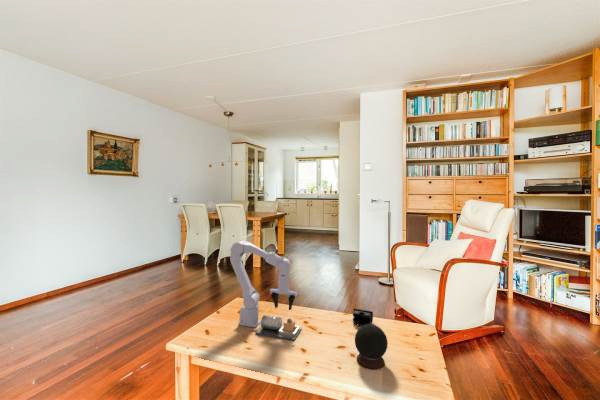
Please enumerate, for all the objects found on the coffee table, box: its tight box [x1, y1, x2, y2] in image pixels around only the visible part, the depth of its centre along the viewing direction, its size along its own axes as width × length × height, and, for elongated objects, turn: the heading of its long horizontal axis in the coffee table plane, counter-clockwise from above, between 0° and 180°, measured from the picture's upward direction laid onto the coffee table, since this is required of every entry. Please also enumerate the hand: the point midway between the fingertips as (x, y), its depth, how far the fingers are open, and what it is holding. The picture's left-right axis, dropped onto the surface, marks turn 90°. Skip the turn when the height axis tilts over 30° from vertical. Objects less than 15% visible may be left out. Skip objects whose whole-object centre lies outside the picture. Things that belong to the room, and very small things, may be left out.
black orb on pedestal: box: [354, 323, 389, 371], centre depth 119 cm, size 13×13×15 cm
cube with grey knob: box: [282, 318, 296, 332], centre depth 142 cm, size 4×4×6 cm
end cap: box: [352, 307, 374, 326], centre depth 155 cm, size 10×7×7 cm
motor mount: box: [255, 314, 303, 342], centre depth 143 cm, size 20×12×7 cm, turn 73°
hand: (283, 308), depth 150 cm, fingers open, 7 cm apart
